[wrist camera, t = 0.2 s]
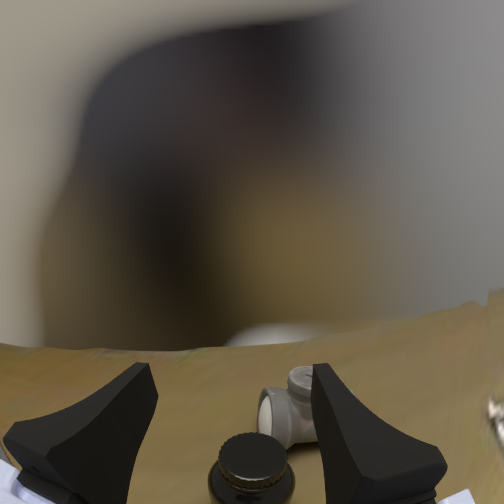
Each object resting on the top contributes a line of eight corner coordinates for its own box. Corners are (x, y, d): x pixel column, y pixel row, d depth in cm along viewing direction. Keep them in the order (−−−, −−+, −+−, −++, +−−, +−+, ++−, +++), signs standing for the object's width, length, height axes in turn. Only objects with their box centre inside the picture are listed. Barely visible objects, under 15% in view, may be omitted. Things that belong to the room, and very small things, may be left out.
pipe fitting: (259, 467, 26) (274, 400, 24) (251, 422, 34) (262, 358, 32) (357, 457, 27) (386, 393, 26) (336, 419, 35) (356, 358, 34)
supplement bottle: (261, 553, 15) (268, 510, 12) (200, 521, 19) (180, 462, 16) (297, 506, 21) (317, 441, 18) (240, 480, 24) (238, 410, 21)
